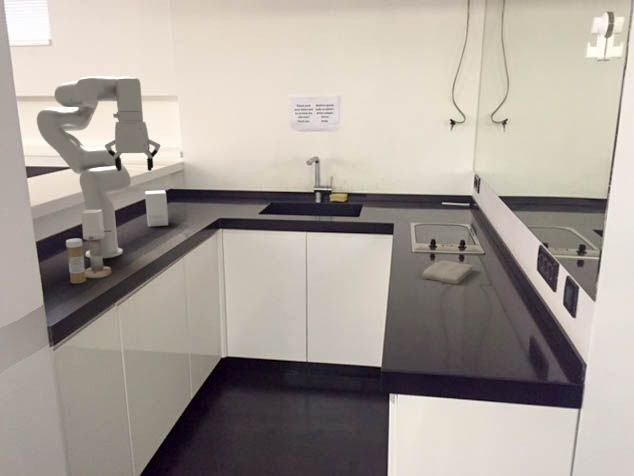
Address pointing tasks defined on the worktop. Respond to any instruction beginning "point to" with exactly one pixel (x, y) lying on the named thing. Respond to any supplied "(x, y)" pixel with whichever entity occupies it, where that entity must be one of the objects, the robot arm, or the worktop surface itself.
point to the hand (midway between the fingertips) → (134, 170)
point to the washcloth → (447, 271)
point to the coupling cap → (93, 225)
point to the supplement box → (156, 208)
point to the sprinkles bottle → (76, 260)
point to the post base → (99, 274)
